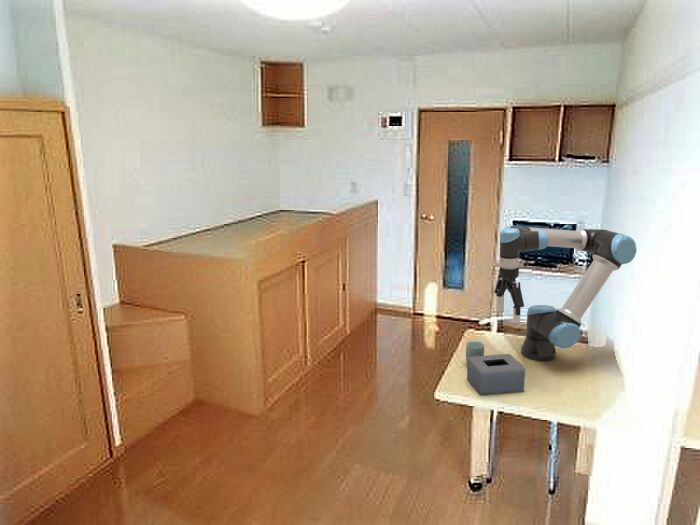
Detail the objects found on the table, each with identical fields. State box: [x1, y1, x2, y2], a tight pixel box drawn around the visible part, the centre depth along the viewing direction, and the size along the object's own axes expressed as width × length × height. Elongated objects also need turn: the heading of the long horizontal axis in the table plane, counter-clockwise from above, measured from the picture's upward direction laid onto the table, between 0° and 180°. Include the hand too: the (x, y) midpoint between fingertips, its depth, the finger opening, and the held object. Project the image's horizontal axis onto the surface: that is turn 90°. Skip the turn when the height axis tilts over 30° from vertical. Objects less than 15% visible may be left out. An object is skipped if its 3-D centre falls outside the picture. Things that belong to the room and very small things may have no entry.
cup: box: [465, 340, 485, 365], centre depth 225 cm, size 8×8×10 cm
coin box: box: [466, 353, 526, 397], centre depth 207 cm, size 18×14×10 cm
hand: (508, 316), depth 213 cm, fingers open, 13 cm apart
